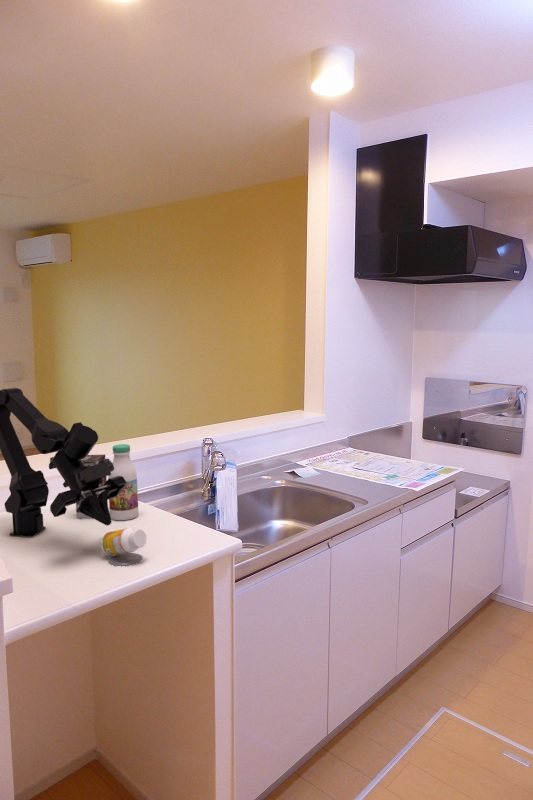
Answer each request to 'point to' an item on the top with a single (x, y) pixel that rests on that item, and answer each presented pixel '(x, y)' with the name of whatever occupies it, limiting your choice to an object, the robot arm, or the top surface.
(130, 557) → the coaster
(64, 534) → the top surface
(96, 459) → the coffee box
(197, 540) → the top surface
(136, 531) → the supplement bottle
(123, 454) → the milk bottle
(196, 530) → the top surface
